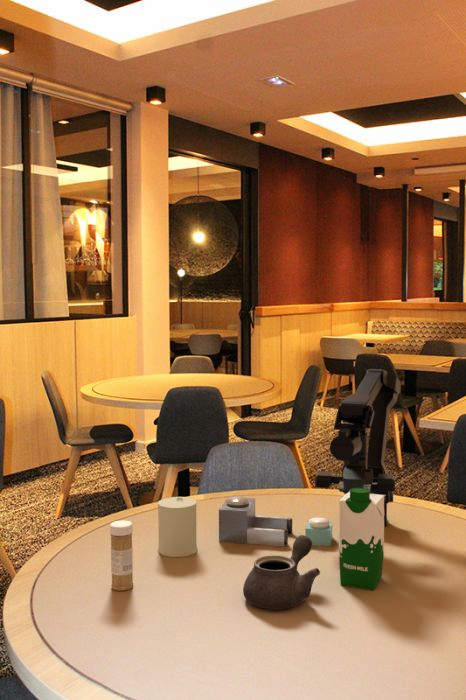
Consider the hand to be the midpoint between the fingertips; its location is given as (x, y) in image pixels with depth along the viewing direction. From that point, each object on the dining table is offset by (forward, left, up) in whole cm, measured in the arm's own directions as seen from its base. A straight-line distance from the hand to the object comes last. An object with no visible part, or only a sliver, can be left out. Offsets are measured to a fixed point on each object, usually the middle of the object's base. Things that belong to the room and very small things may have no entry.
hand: (354, 515), depth 171 cm
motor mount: (+24, 0, -7) cm, 25 cm away
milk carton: (-2, +23, -7) cm, 24 cm away
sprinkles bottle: (+46, +36, -7) cm, 59 cm away
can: (+41, +13, -7) cm, 43 cm away
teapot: (+12, +33, -7) cm, 36 cm away
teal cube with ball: (+9, 0, -7) cm, 11 cm away
